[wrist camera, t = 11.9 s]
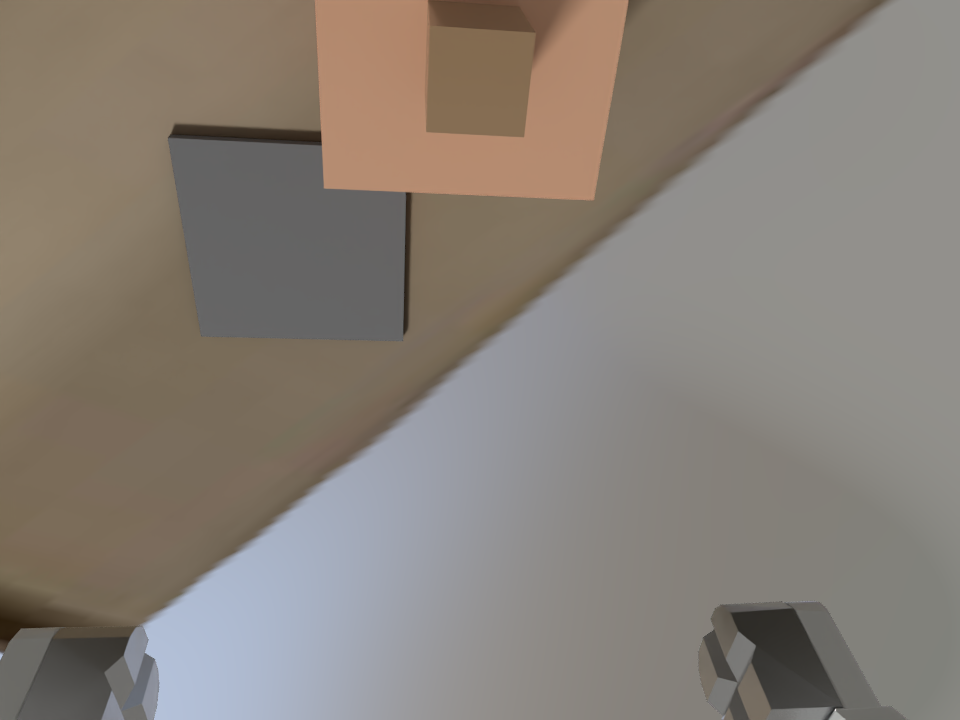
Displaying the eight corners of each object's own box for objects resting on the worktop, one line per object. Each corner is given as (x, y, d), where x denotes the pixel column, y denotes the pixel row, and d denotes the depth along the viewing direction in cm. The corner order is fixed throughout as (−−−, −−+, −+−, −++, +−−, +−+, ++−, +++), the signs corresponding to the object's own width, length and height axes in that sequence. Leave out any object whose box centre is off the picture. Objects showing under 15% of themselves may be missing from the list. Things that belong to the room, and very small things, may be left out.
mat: (203, 331, 43) (201, 336, 43) (170, 134, 36) (167, 138, 36) (403, 336, 44) (402, 341, 44) (406, 146, 37) (406, 149, 37)
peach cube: (345, 103, 36) (311, 236, 24) (339, -151, 30) (289, -142, 18) (551, 114, 37) (616, 247, 25) (583, -129, 31) (688, -106, 19)
